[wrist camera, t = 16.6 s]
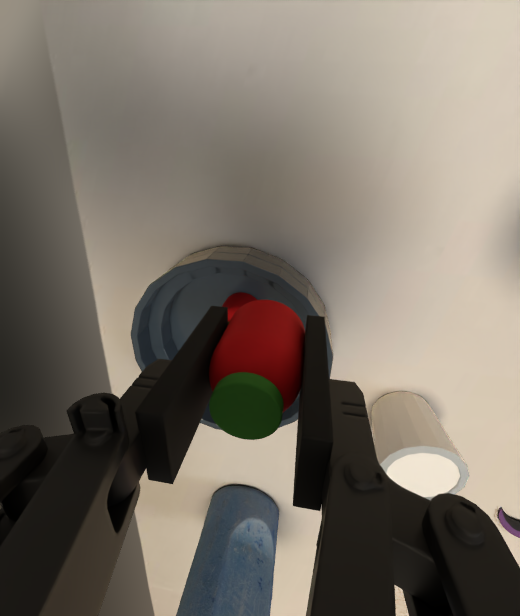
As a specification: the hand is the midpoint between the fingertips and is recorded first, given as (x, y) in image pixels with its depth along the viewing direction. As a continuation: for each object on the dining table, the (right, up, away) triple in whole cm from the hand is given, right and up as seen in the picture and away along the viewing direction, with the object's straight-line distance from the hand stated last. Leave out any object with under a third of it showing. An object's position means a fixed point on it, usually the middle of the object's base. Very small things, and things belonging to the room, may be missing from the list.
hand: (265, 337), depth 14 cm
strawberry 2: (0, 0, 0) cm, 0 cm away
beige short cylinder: (+14, -9, +17) cm, 24 cm away
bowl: (-2, -1, +16) cm, 16 cm away
